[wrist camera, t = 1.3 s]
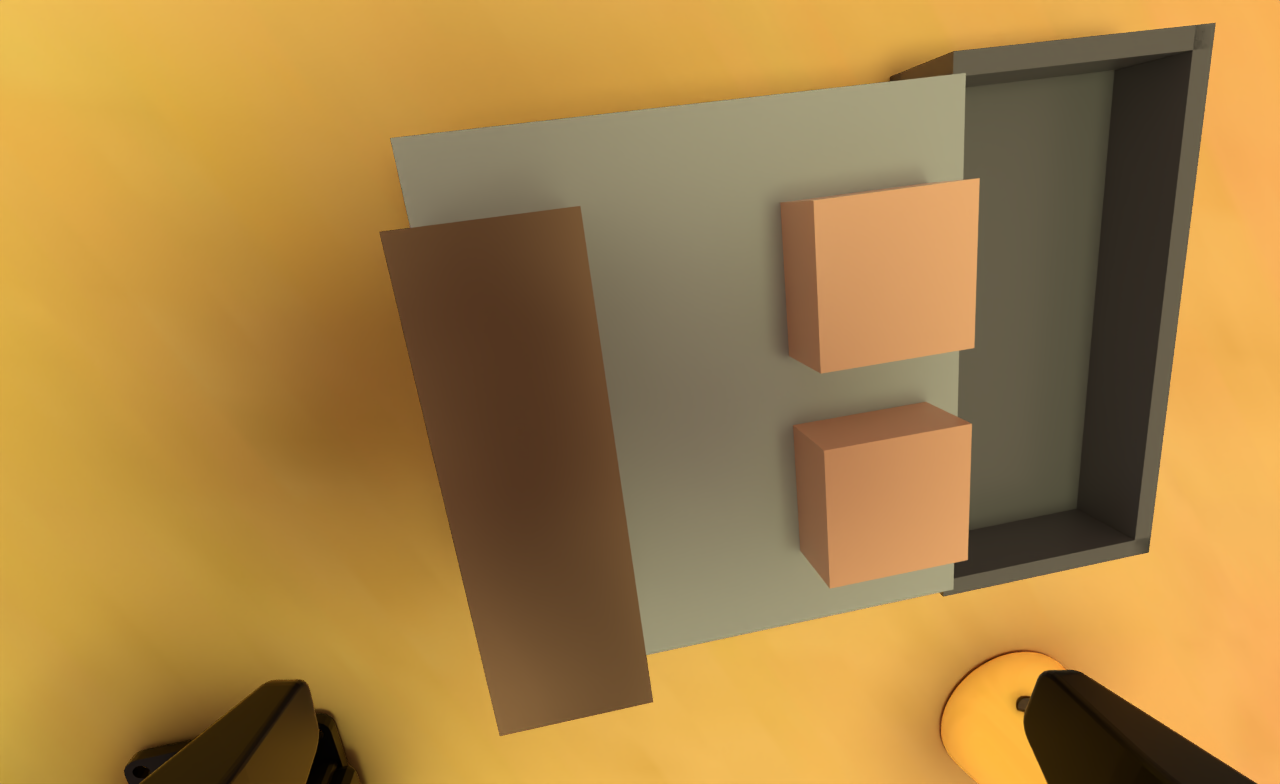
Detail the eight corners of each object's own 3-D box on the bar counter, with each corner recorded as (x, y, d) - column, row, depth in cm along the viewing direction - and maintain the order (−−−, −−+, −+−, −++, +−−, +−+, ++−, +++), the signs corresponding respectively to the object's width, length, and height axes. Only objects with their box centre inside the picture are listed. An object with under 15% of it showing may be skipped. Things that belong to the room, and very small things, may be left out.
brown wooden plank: (508, 624, 18) (499, 735, 14) (421, 228, 15) (379, 231, 11) (629, 599, 18) (653, 701, 14) (570, 208, 15) (580, 205, 11)
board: (516, 611, 22) (512, 683, 18) (419, 153, 17) (390, 138, 14) (894, 535, 23) (953, 589, 20) (890, 98, 19) (965, 72, 15)
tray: (894, 549, 23) (943, 596, 20) (890, 76, 19) (953, 51, 16) (1076, 512, 24) (1148, 552, 21) (1116, 51, 19) (1215, 22, 17)
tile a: (800, 550, 18) (830, 588, 17) (792, 424, 17) (823, 450, 15) (925, 525, 19) (967, 559, 17) (925, 401, 18) (972, 424, 16)
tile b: (789, 355, 17) (820, 373, 15) (780, 202, 16) (813, 200, 14) (926, 333, 17) (974, 348, 15) (927, 182, 16) (979, 178, 14)
